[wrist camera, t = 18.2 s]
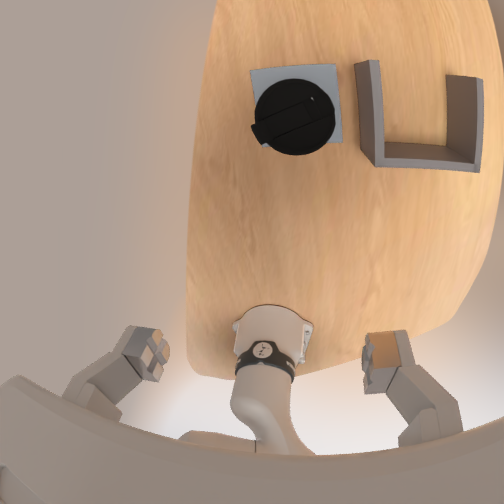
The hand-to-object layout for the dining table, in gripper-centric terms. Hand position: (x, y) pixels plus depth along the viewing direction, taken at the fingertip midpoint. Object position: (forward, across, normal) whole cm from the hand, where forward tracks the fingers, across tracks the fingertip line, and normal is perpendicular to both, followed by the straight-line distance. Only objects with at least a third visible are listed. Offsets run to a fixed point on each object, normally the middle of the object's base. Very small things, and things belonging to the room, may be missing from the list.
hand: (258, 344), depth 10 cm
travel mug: (+34, +2, +7) cm, 35 cm away
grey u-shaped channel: (+34, +19, +7) cm, 40 cm away
